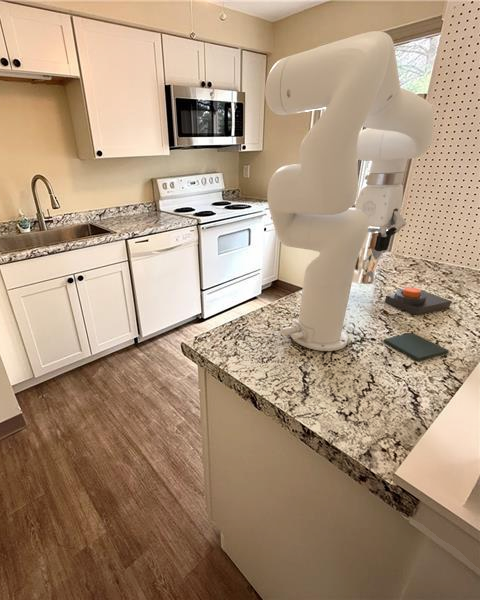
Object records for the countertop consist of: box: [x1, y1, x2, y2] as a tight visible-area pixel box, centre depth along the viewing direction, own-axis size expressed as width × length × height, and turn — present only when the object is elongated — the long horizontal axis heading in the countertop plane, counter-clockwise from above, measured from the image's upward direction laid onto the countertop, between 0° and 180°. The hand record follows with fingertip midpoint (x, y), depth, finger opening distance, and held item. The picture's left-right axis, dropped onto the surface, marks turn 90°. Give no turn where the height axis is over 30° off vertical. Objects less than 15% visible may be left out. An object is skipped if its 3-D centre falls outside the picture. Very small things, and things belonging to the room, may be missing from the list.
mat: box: [383, 332, 449, 362], centre depth 70 cm, size 8×8×1 cm
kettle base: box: [384, 288, 452, 316], centre depth 86 cm, size 12×9×4 cm
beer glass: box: [352, 226, 384, 285], centre depth 88 cm, size 7×7×15 cm
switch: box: [402, 286, 422, 298], centre depth 84 cm, size 4×4×2 cm
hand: (369, 246), depth 87 cm, fingers closed on beer glass, 7 cm apart
